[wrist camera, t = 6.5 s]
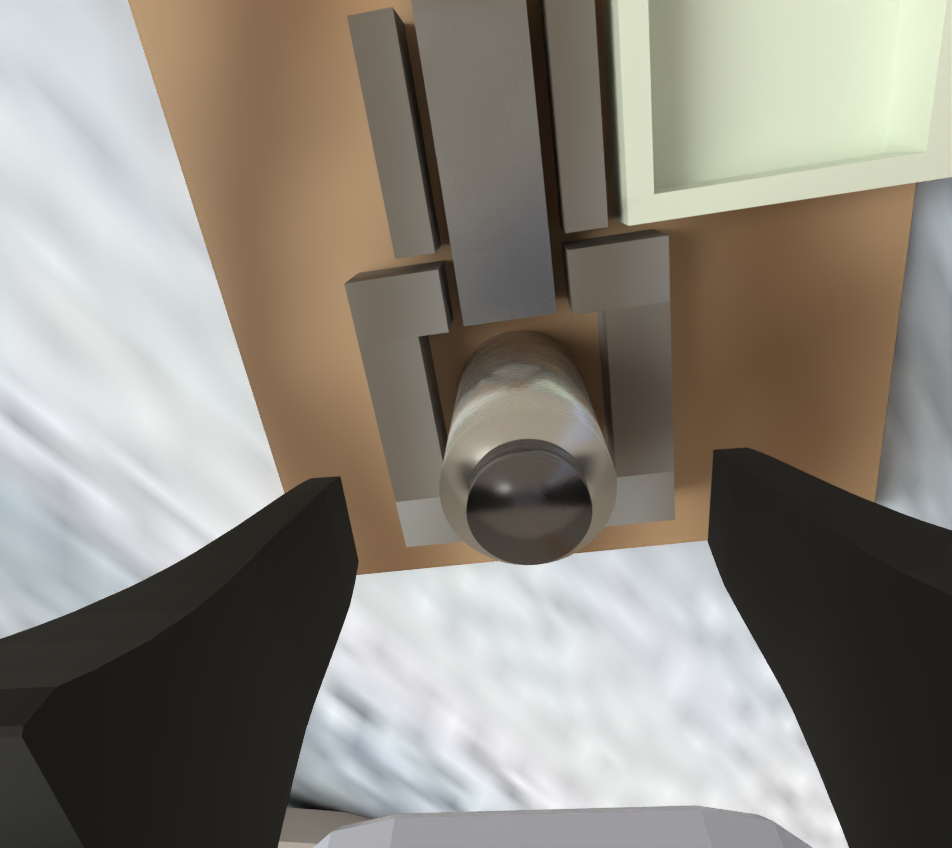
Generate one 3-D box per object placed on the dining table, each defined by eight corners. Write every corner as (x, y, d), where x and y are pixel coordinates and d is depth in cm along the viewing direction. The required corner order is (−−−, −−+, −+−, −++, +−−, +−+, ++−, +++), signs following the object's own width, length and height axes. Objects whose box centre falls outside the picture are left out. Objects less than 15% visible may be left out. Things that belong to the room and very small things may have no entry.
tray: (937, -179, 12) (1014, -240, 10) (896, 175, 15) (951, 177, 13) (595, -108, 13) (610, -153, 11) (613, 218, 16) (628, 226, 14)
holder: (978, -570, 11) (1112, -776, 8) (854, 507, 20) (903, 554, 17) (48, -324, 13) (-58, -437, 10) (320, 561, 22) (297, 610, 19)
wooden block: (516, -209, 12) (520, -318, 9) (564, 301, 16) (576, 329, 13) (373, -177, 12) (336, -274, 10) (455, 316, 16) (446, 347, 14)
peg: (602, 357, 17) (658, 468, 11) (550, 460, 18) (574, 611, 12) (485, 311, 17) (475, 398, 10) (442, 420, 18) (409, 554, 12)
